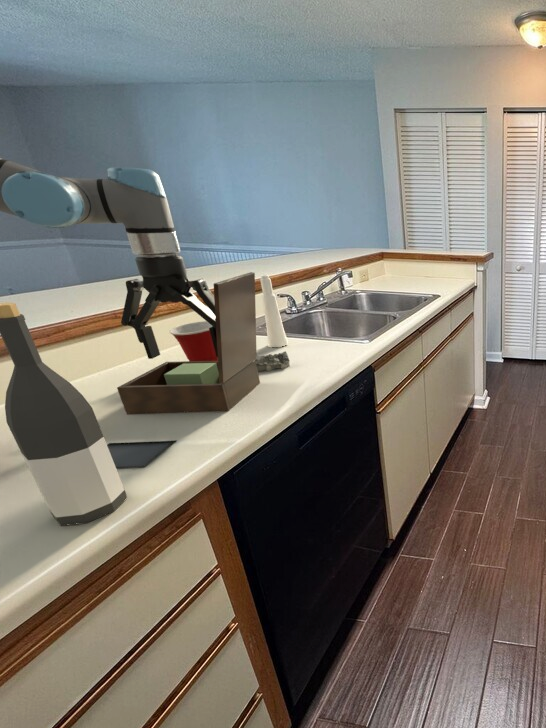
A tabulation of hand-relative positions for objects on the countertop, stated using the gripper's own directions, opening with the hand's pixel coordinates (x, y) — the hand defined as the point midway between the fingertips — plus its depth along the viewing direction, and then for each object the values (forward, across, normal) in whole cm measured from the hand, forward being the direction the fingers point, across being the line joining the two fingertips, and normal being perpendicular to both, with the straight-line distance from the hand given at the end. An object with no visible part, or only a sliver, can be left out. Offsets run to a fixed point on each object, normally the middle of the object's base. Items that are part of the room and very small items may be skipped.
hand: (188, 356), depth 92 cm
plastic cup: (+11, +10, -22) cm, 27 cm away
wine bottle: (+11, -5, +38) cm, 40 cm away
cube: (+10, 0, 0) cm, 10 cm away
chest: (+11, 0, 0) cm, 11 cm away
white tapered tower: (+11, -1, -43) cm, 44 cm away
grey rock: (+11, -7, -20) cm, 24 cm away
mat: (+11, 0, +22) cm, 25 cm away
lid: (-7, -11, 0) cm, 13 cm away
